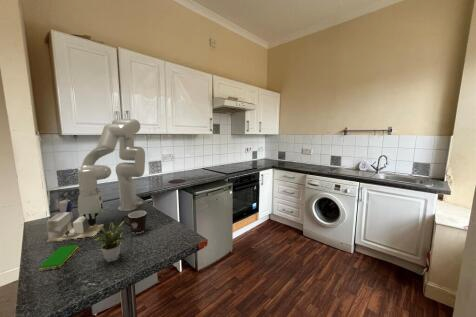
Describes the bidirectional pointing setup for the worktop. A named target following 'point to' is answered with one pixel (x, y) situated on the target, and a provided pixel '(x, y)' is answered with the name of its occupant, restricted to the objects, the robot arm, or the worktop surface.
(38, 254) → the worktop surface
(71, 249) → the dish sponge
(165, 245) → the worktop surface
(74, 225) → the white rectangular block
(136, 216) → the coffee mug
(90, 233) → the base
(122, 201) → the robot arm
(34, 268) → the worktop surface
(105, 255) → the house plant
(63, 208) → the energy drink
